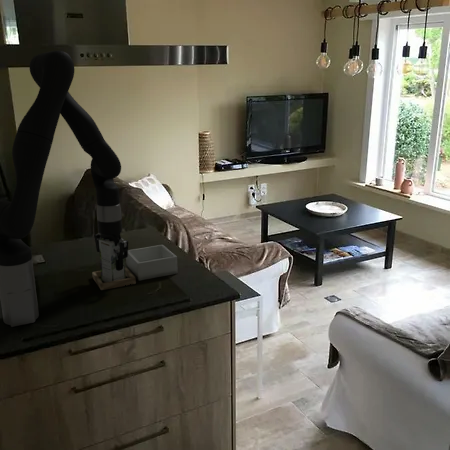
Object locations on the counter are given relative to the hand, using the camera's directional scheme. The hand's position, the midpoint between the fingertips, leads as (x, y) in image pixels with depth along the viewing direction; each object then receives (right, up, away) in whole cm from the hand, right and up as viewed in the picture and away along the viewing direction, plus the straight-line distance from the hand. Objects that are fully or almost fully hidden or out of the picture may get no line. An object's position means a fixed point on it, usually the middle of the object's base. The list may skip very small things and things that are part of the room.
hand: (112, 267), depth 168 cm
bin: (+11, -2, +10) cm, 15 cm away
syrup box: (0, -5, +1) cm, 5 cm away
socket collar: (0, -4, +1) cm, 5 cm away
